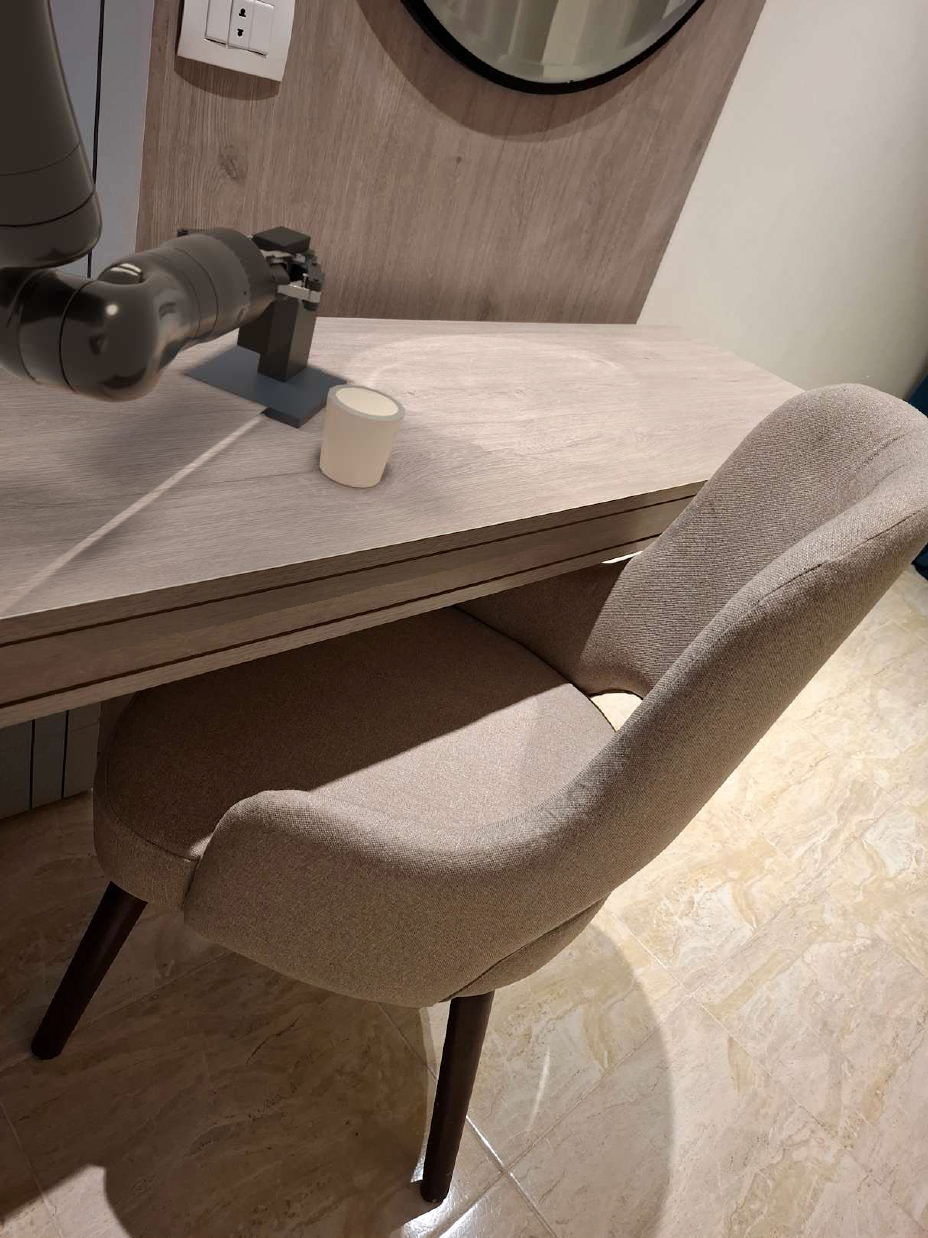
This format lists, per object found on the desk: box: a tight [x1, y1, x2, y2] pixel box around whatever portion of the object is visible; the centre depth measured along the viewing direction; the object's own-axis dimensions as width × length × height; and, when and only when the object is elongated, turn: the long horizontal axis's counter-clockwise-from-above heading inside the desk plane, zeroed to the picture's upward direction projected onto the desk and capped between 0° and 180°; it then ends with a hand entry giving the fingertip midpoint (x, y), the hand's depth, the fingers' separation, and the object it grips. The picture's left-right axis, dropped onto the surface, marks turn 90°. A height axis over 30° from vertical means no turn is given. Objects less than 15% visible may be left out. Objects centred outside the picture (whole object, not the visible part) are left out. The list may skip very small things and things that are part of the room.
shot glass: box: [319, 383, 406, 489], centre depth 80 cm, size 7×7×7 cm
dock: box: [184, 271, 348, 428], centre depth 89 cm, size 12×13×11 cm
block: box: [236, 225, 312, 356], centre depth 83 cm, size 3×6×10 cm, turn 166°
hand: (291, 253), depth 84 cm, fingers closed on block, 3 cm apart
